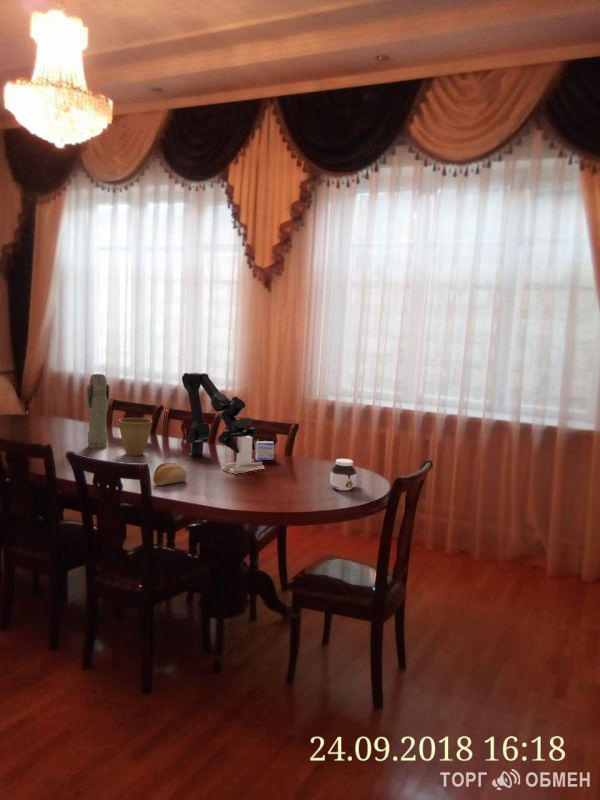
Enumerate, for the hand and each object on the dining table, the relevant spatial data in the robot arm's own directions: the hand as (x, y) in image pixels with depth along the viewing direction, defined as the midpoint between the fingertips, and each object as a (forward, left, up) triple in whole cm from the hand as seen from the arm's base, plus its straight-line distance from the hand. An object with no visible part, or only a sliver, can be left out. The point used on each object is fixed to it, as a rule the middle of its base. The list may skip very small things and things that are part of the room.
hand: (246, 451), depth 271 cm
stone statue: (-29, -75, -9) cm, 80 cm away
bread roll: (+26, -27, -9) cm, 39 cm away
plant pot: (-19, -54, -9) cm, 57 cm away
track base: (-1, -1, -9) cm, 9 cm away
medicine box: (-22, +6, -9) cm, 25 cm away
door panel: (-1, -1, -7) cm, 7 cm away
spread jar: (+18, +41, -9) cm, 46 cm away
